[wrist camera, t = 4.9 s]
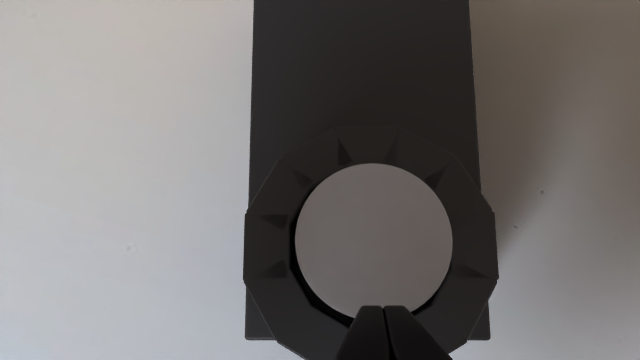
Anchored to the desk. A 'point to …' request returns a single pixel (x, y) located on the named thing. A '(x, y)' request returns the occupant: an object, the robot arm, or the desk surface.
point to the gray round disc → (373, 239)
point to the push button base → (362, 152)
